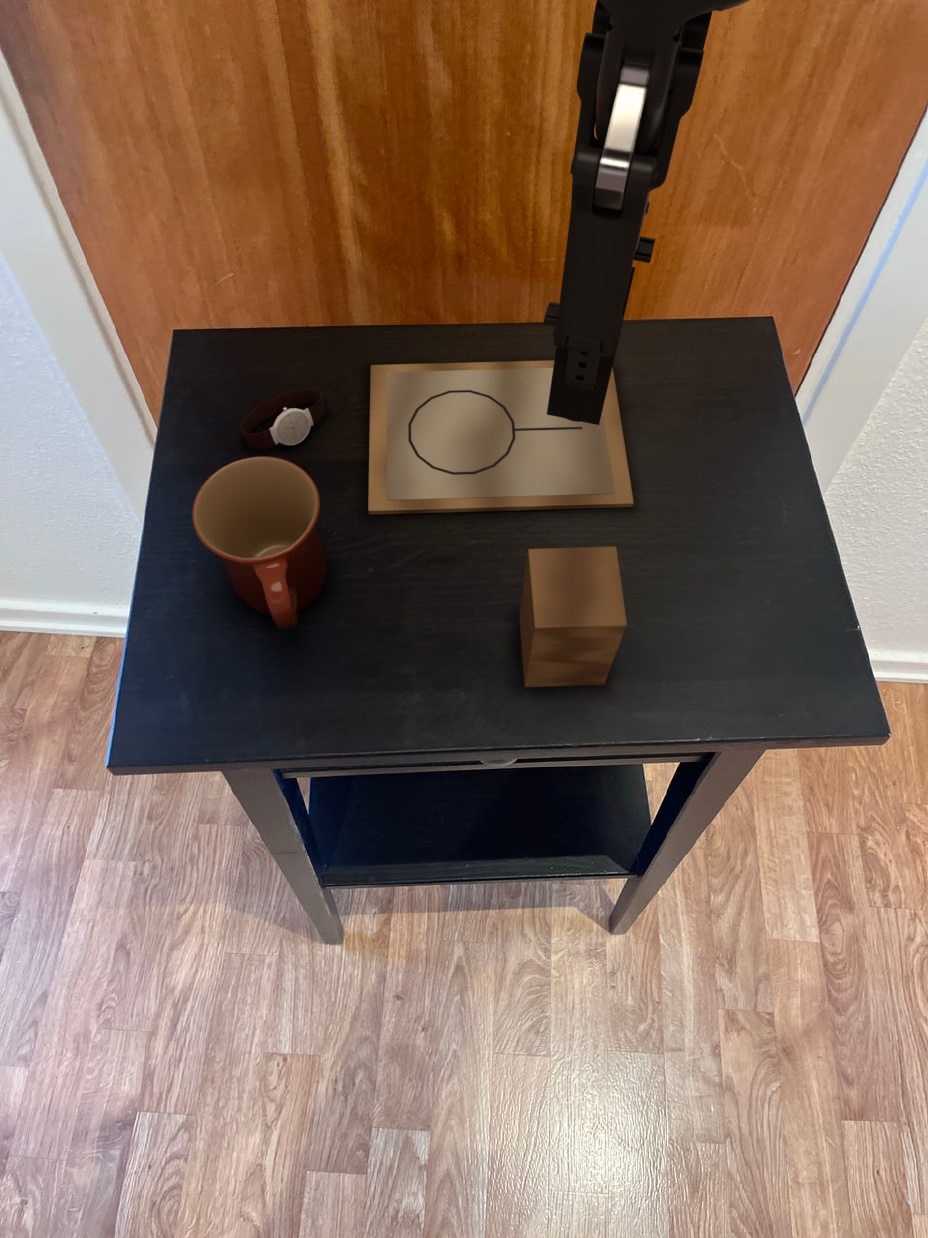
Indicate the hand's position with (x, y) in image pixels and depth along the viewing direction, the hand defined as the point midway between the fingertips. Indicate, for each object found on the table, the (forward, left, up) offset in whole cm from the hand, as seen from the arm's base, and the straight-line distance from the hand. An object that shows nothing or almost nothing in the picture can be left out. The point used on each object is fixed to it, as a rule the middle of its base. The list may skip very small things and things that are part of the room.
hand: (579, 390), depth 44 cm
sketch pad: (+8, -17, -26) cm, 31 cm away
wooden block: (-2, +2, -26) cm, 26 cm away
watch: (+26, -13, -26) cm, 38 cm away
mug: (+20, +3, -26) cm, 33 cm away
